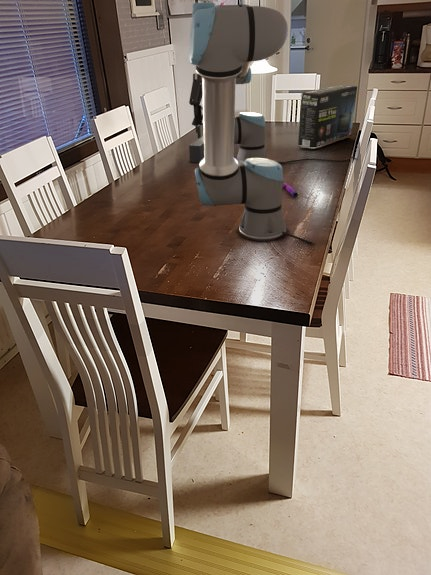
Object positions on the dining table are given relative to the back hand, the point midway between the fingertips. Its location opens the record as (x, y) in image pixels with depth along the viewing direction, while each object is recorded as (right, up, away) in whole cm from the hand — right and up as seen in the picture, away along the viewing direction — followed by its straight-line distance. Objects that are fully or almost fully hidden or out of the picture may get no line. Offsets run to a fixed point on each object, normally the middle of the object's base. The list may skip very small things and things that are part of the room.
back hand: (211, 139), depth 240 cm
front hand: (-1, -17, -74) cm, 76 cm away
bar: (-3, -10, -6) cm, 12 cm away
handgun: (+28, -38, -55) cm, 73 cm away
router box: (+61, -1, +4) cm, 61 cm away
